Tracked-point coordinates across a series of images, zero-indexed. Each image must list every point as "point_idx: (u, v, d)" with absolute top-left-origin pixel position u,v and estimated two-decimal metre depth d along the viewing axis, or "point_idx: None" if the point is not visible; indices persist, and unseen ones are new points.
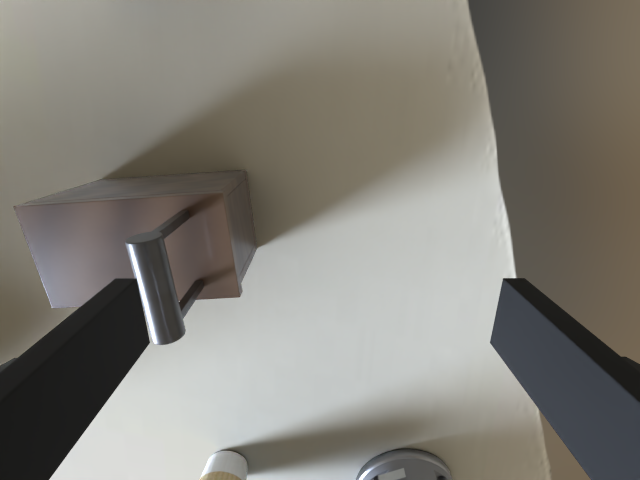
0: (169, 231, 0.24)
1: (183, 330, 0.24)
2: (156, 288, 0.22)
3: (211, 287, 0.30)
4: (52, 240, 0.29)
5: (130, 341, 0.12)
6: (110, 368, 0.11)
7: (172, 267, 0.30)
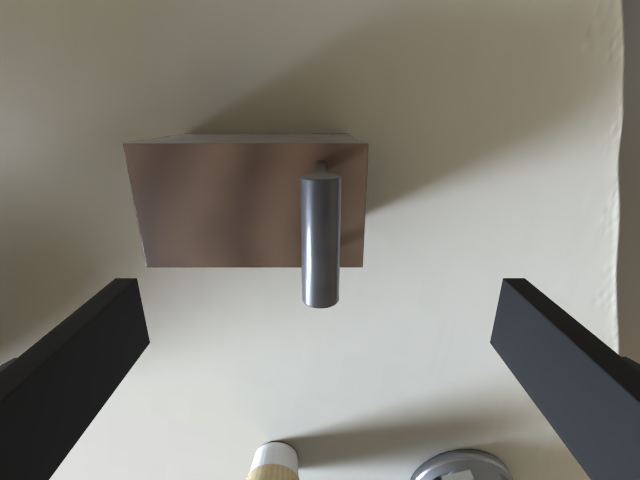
0: None
1: (338, 294, 0.20)
2: (329, 238, 0.18)
3: None
4: (161, 187, 0.25)
5: (130, 341, 0.12)
6: (110, 369, 0.11)
7: (293, 228, 0.26)
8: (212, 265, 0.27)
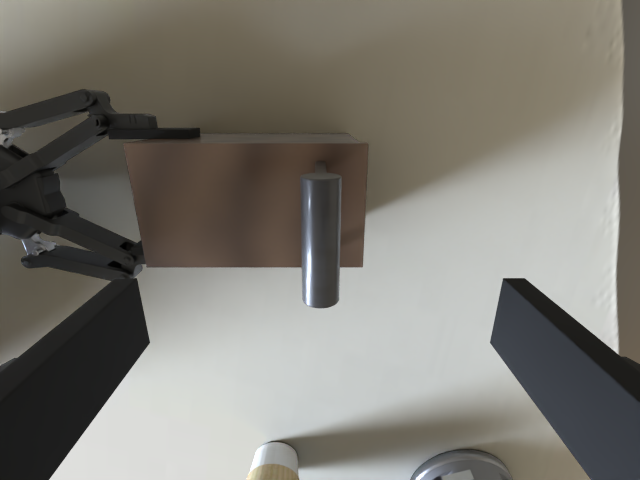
0: None
1: None
2: (330, 238, 0.18)
3: None
4: (161, 187, 0.25)
5: (130, 341, 0.12)
6: (110, 369, 0.11)
7: (293, 227, 0.26)
8: (212, 265, 0.27)
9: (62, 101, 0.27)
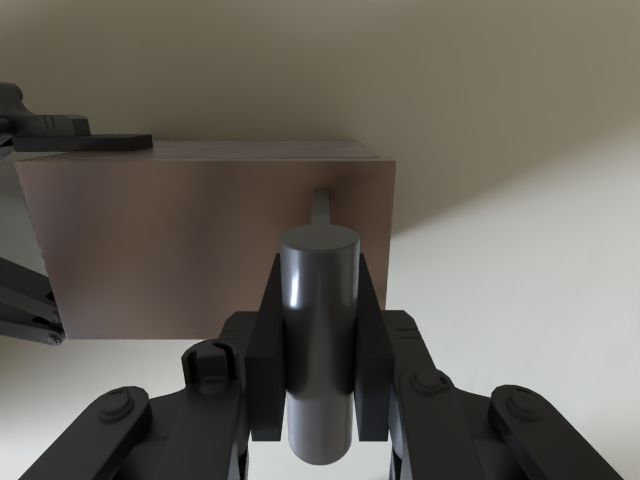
0: None
1: None
2: (337, 354, 0.10)
3: None
4: (78, 227, 0.16)
5: None
6: None
7: None
8: (162, 337, 0.19)
9: None
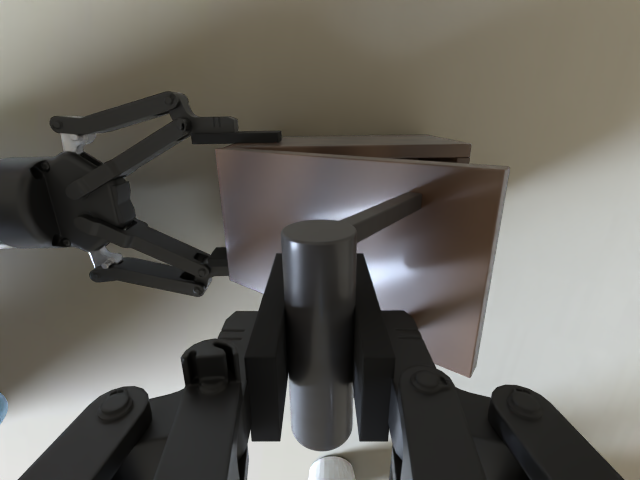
0: (375, 227, 0.12)
1: (347, 432, 0.12)
2: (313, 345, 0.10)
3: (422, 338, 0.17)
4: (241, 199, 0.22)
5: None
6: None
7: None
8: None
9: (144, 104, 0.25)
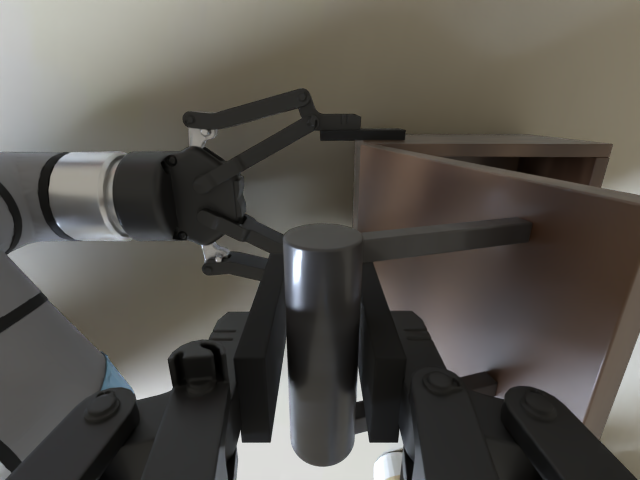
0: (416, 248, 0.10)
1: (333, 458, 0.11)
2: (295, 349, 0.10)
3: None
4: (371, 197, 0.22)
5: None
6: (284, 326, 0.13)
7: (462, 318, 0.15)
8: None
9: (277, 101, 0.26)
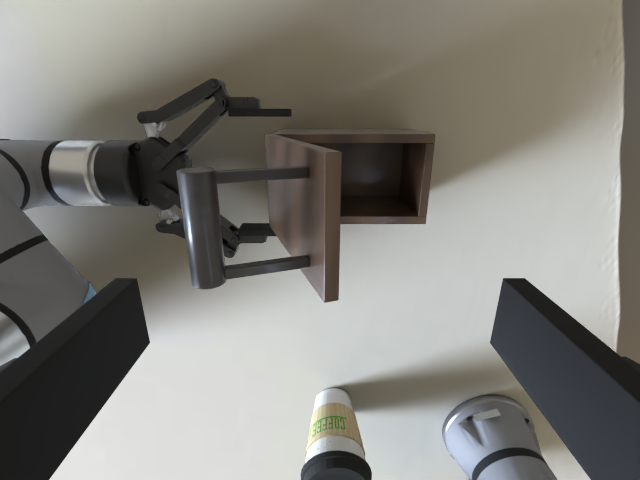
0: (244, 177, 0.21)
1: (210, 284, 0.22)
2: (185, 225, 0.21)
3: (312, 271, 0.24)
4: None
5: (130, 341, 0.12)
6: (110, 369, 0.11)
7: (299, 229, 0.26)
8: (280, 240, 0.33)
9: (197, 91, 0.37)
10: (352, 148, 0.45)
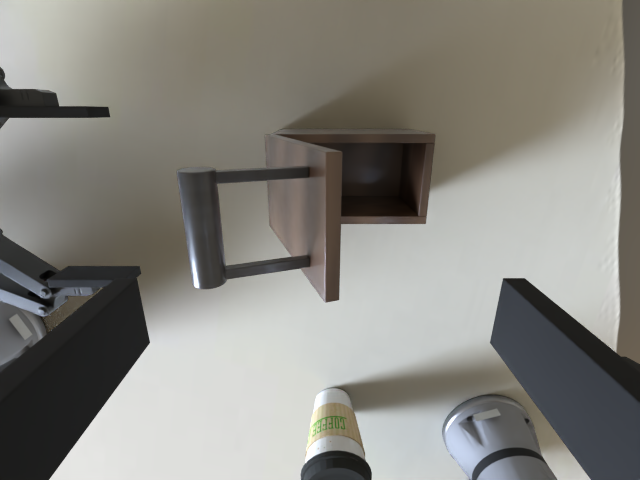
0: (244, 177, 0.21)
1: (210, 284, 0.22)
2: (186, 224, 0.21)
3: (312, 271, 0.24)
4: None
5: (130, 341, 0.12)
6: (110, 369, 0.11)
7: (300, 229, 0.26)
8: (280, 240, 0.33)
9: None
10: (352, 148, 0.45)
